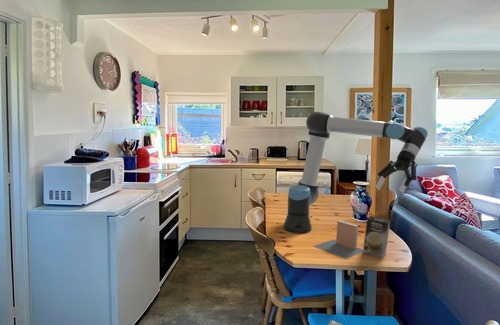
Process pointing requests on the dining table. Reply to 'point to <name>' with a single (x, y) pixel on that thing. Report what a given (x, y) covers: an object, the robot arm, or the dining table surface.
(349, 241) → the tile
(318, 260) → the dining table surface
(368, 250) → the coffee box
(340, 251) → the mat
